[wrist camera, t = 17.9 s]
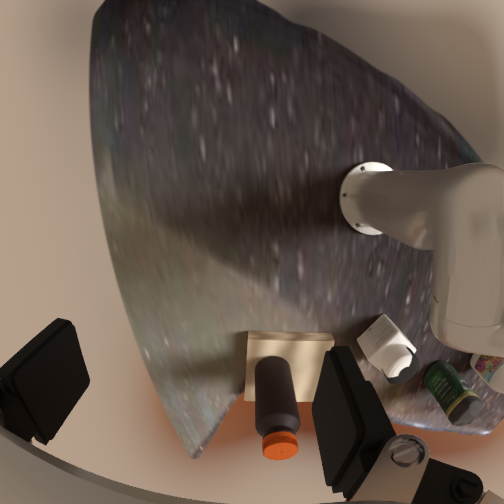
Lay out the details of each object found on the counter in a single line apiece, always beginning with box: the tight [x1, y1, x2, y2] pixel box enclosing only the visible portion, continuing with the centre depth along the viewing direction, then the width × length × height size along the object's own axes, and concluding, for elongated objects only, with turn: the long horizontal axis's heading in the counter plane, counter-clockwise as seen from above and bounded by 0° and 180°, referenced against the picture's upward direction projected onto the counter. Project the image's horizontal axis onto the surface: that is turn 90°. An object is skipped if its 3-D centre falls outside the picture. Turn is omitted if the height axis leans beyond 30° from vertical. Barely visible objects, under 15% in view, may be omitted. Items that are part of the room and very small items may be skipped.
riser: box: [244, 331, 335, 402], centre depth 52 cm, size 16×16×3 cm
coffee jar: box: [423, 361, 483, 426], centre depth 46 cm, size 10×8×19 cm
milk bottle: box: [470, 354, 504, 394], centre depth 45 cm, size 8×8×20 cm
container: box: [357, 314, 419, 384], centre depth 45 cm, size 8×8×13 cm
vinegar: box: [255, 356, 301, 460], centre depth 40 cm, size 7×7×20 cm
